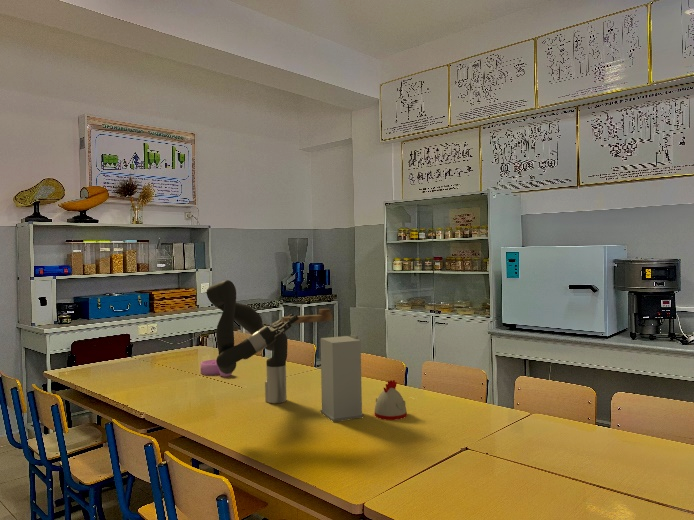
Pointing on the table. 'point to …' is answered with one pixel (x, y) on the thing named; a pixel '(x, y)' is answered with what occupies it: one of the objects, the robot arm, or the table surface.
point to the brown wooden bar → (313, 317)
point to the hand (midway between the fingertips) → (295, 316)
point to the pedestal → (341, 378)
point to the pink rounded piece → (211, 368)
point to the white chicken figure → (390, 403)
